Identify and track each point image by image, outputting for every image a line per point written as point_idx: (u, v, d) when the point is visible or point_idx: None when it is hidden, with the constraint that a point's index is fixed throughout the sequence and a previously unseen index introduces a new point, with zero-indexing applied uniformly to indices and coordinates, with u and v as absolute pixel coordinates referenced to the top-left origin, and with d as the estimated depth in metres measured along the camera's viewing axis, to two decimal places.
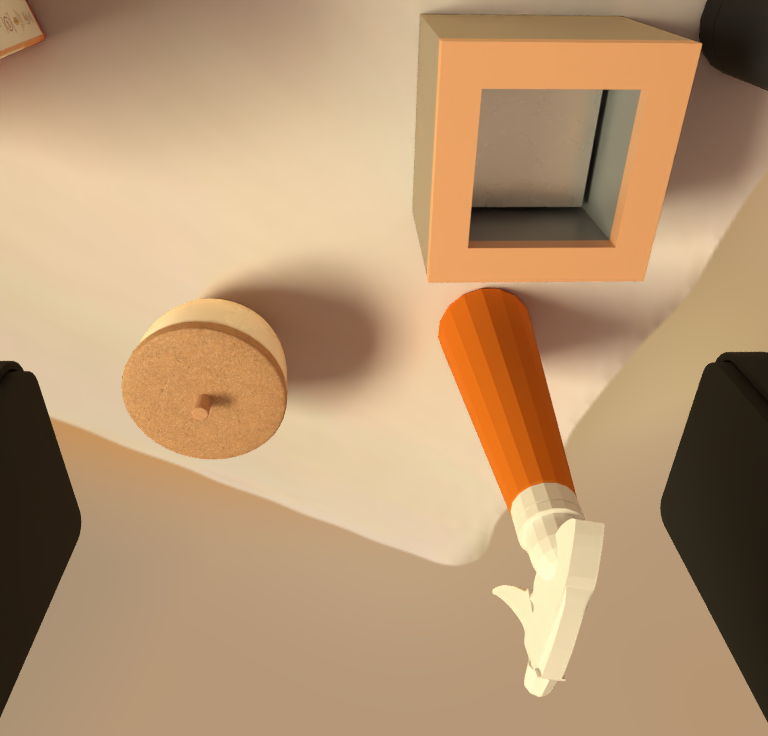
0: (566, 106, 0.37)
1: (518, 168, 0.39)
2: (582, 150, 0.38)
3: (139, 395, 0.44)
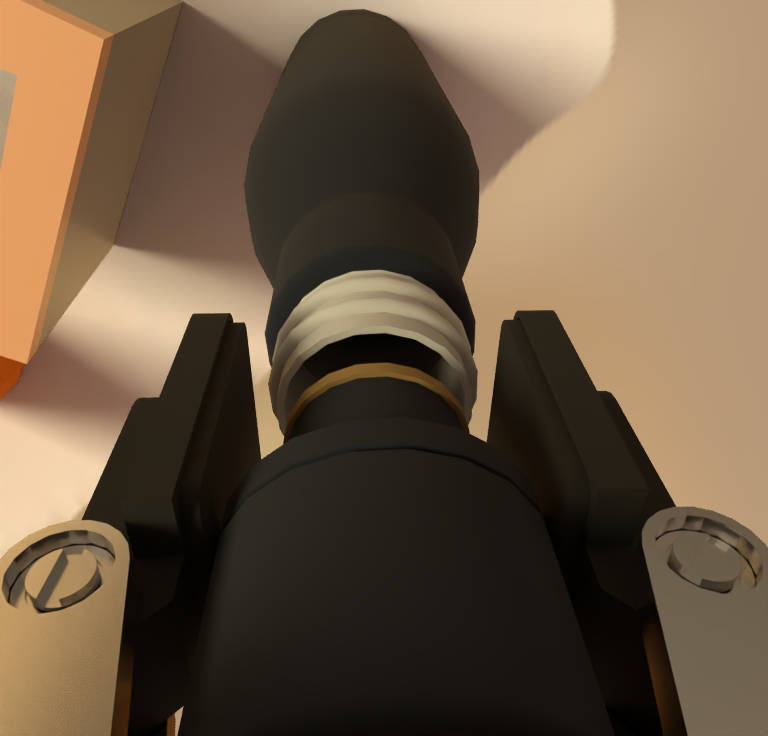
0: None
1: None
2: None
3: None
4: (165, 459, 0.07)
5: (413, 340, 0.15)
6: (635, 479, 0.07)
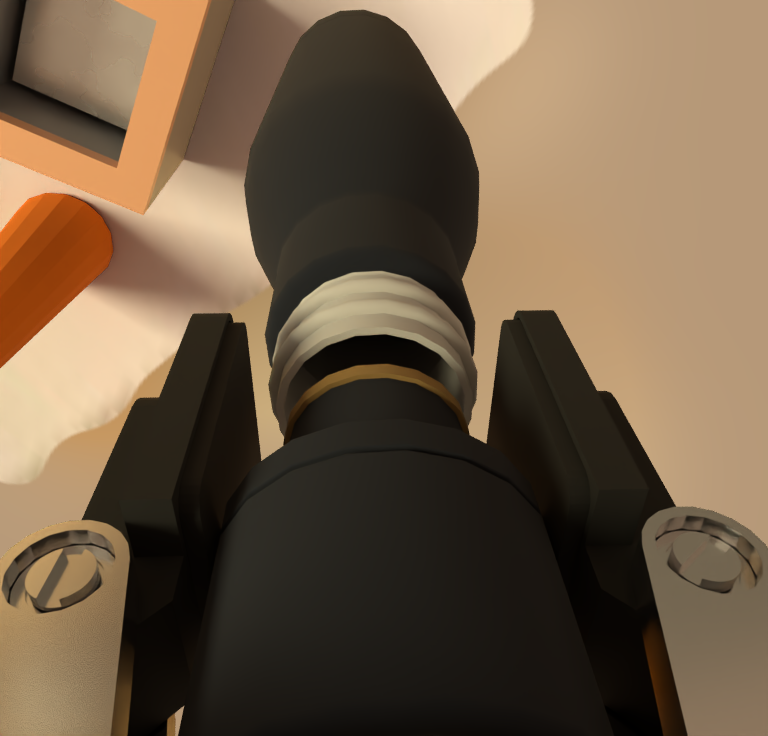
0: (127, 23, 0.38)
1: (72, 64, 0.39)
2: (139, 76, 0.39)
3: None
4: (165, 459, 0.07)
5: (413, 341, 0.15)
6: (634, 478, 0.07)
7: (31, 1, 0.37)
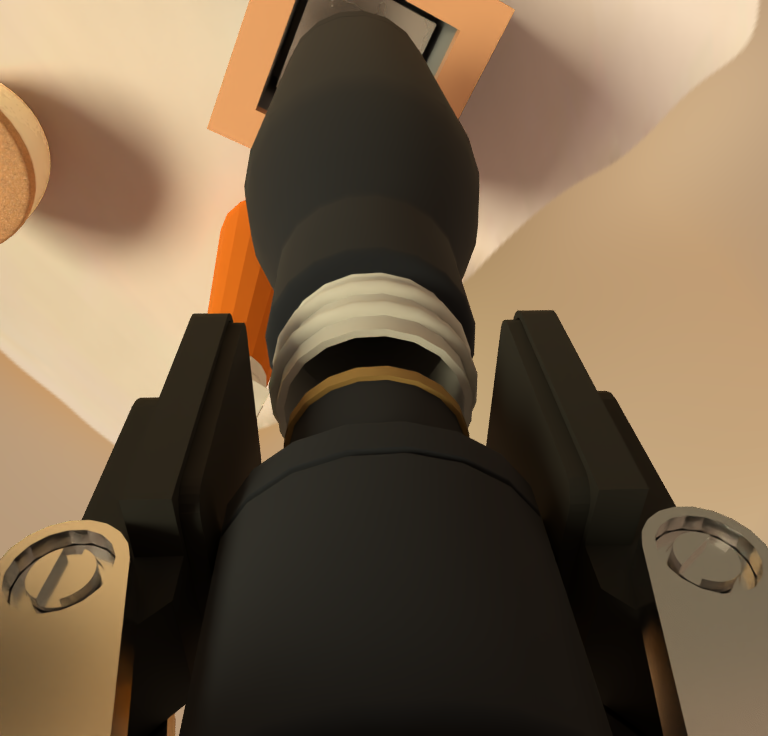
0: None
1: None
2: None
3: None
4: (165, 459, 0.07)
5: (413, 342, 0.15)
6: (635, 478, 0.07)
7: (309, 10, 0.38)
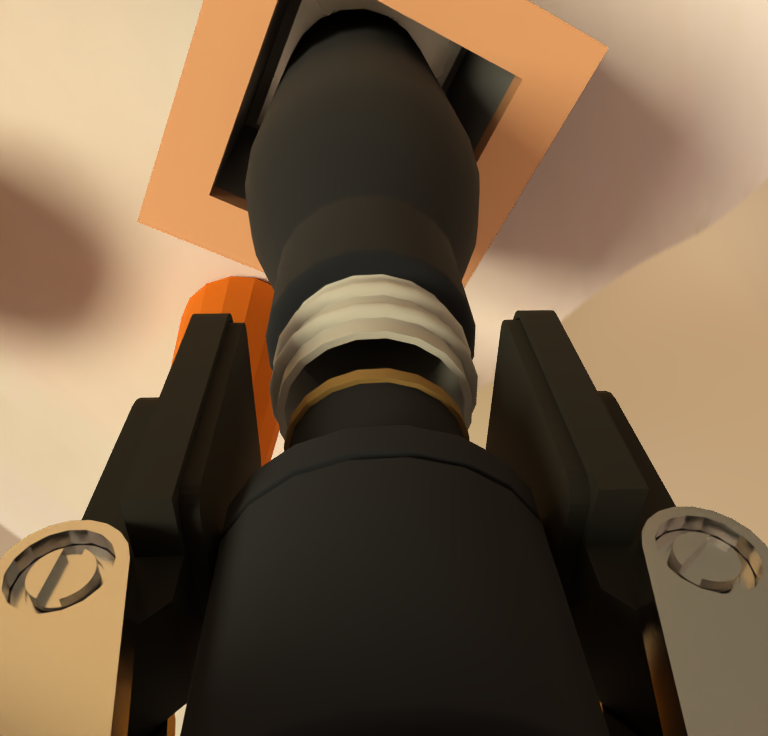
0: None
1: None
2: None
3: None
4: (165, 459, 0.07)
5: None
6: (633, 479, 0.07)
7: (298, 27, 0.29)
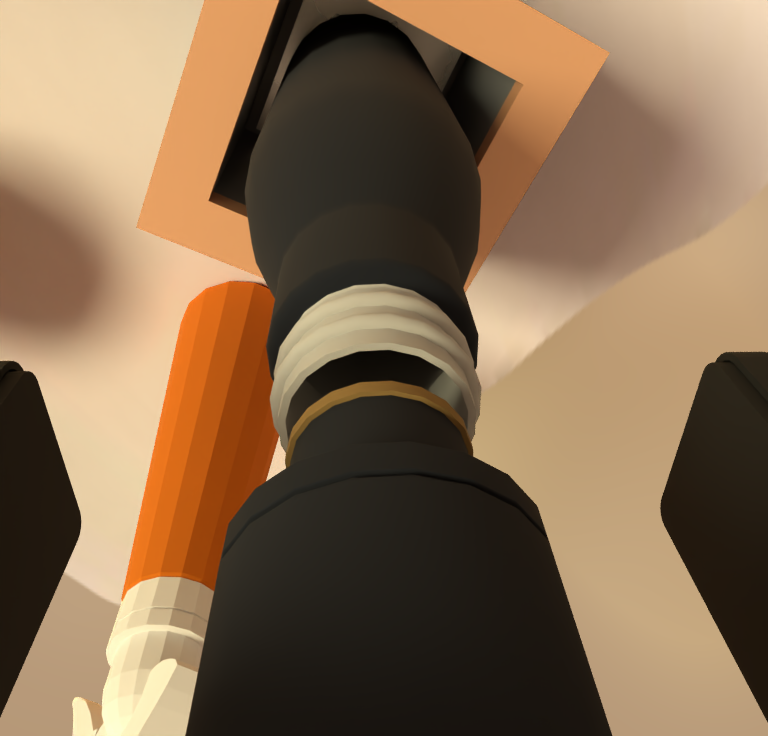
0: None
1: None
2: None
3: None
4: None
5: None
6: None
7: (298, 32, 0.29)
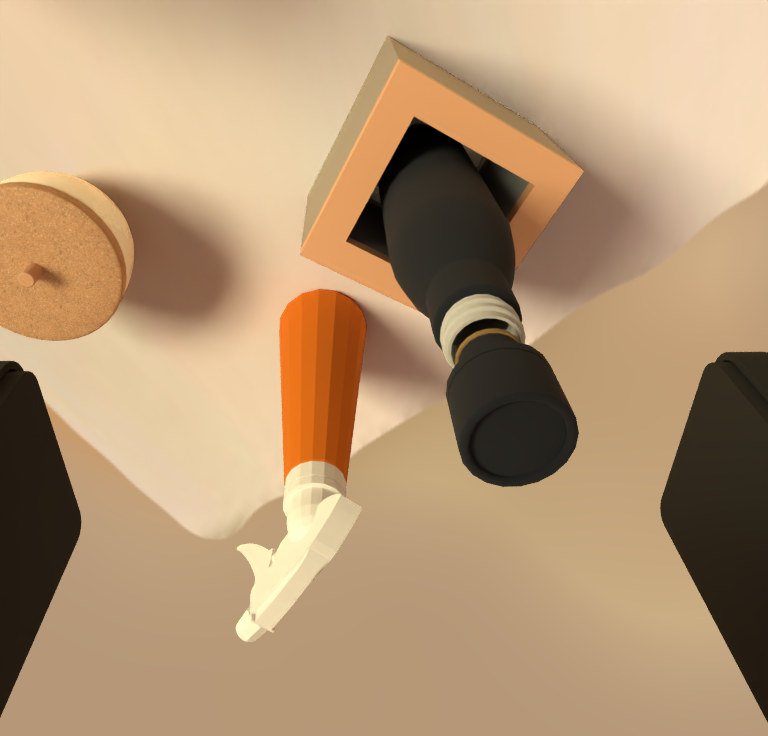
0: None
1: None
2: None
3: None
4: None
5: (485, 327, 0.31)
6: None
7: None
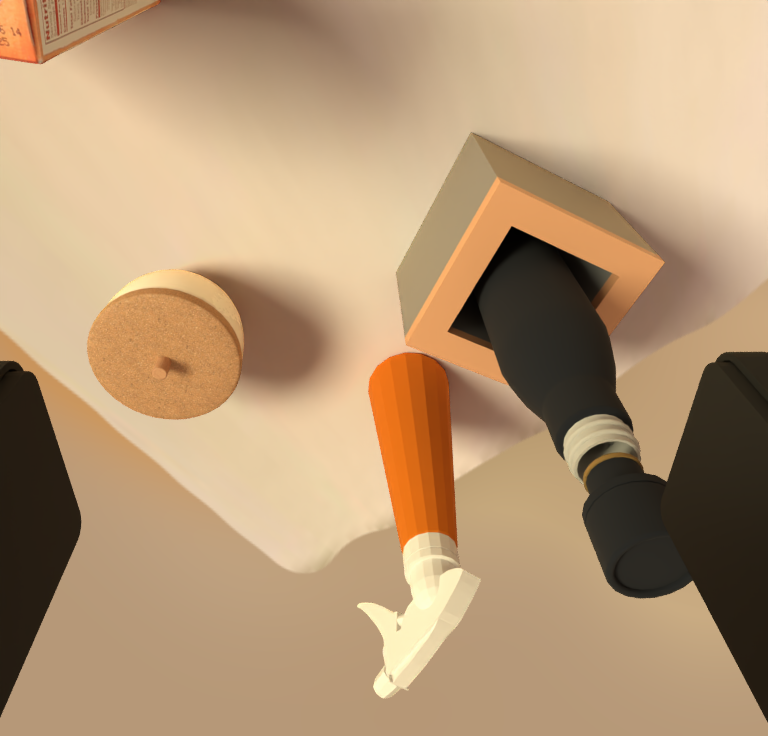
0: None
1: None
2: None
3: (107, 336, 0.47)
4: None
5: None
6: None
7: None
